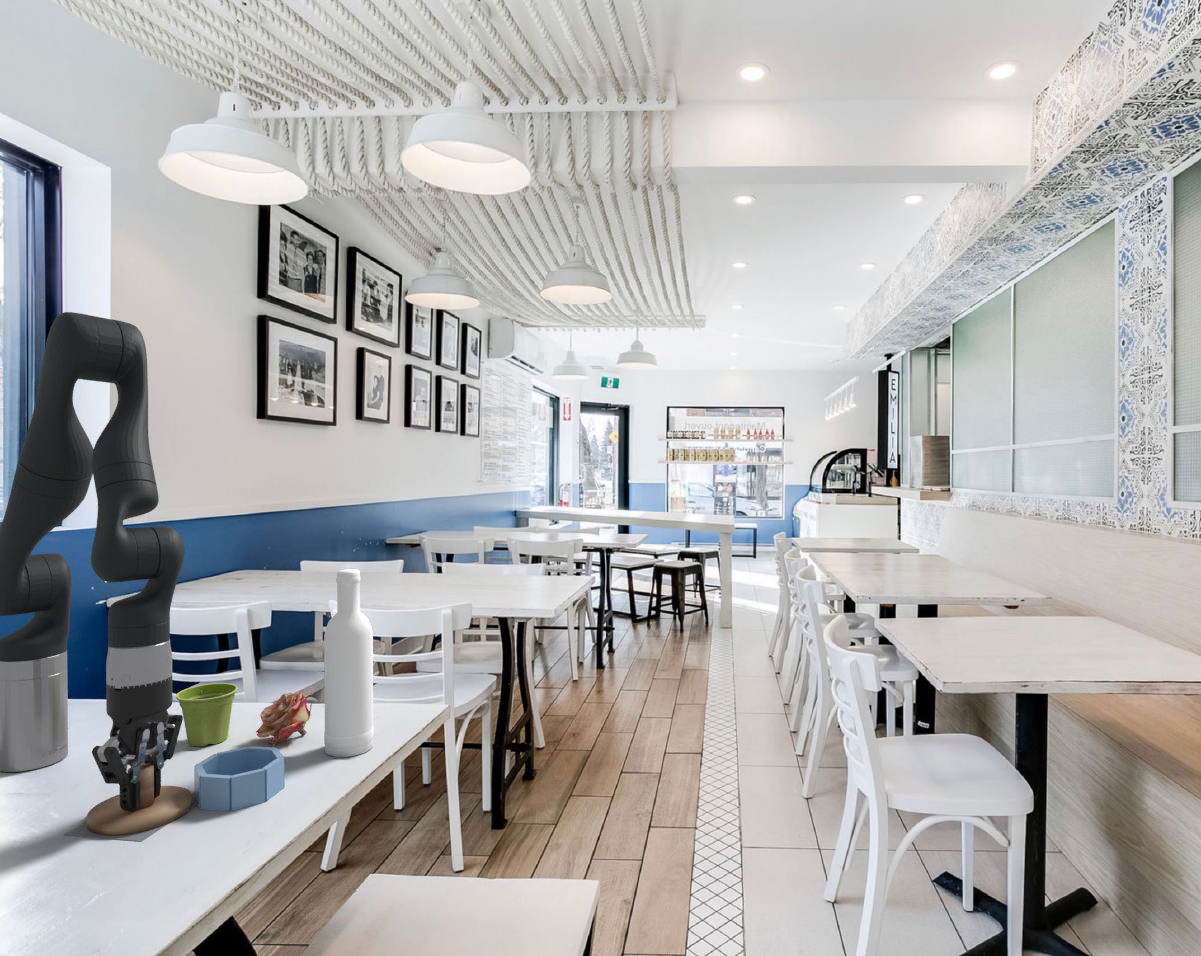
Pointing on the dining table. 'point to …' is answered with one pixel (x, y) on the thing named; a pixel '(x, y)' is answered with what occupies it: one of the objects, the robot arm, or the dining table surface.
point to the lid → (140, 808)
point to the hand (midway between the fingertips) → (140, 802)
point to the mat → (137, 836)
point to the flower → (285, 717)
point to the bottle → (348, 673)
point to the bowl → (239, 778)
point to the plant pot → (207, 712)
